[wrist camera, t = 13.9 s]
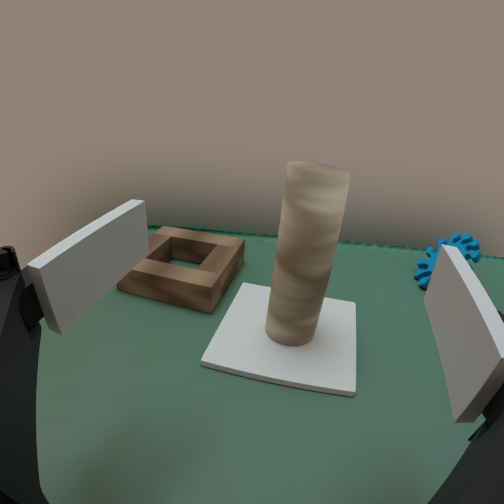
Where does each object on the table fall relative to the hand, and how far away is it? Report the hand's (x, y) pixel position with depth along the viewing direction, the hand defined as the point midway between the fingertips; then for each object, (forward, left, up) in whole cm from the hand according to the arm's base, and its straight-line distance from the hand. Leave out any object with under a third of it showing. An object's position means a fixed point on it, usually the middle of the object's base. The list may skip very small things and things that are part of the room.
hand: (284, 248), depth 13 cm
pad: (0, -10, -13) cm, 16 cm away
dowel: (0, -10, -12) cm, 16 cm away
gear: (-19, -24, -13) cm, 33 cm away
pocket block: (+13, -16, -13) cm, 24 cm away
